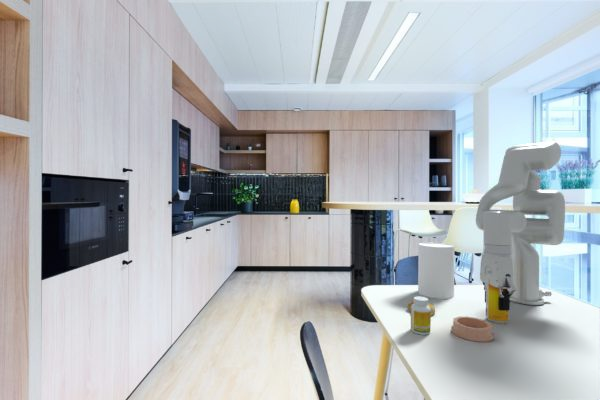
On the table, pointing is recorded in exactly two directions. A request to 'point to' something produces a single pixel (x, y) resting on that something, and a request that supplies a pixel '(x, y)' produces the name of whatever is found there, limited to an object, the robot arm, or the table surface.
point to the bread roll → (428, 305)
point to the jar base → (472, 329)
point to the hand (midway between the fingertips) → (496, 305)
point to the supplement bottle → (420, 316)
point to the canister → (436, 270)
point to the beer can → (494, 303)
